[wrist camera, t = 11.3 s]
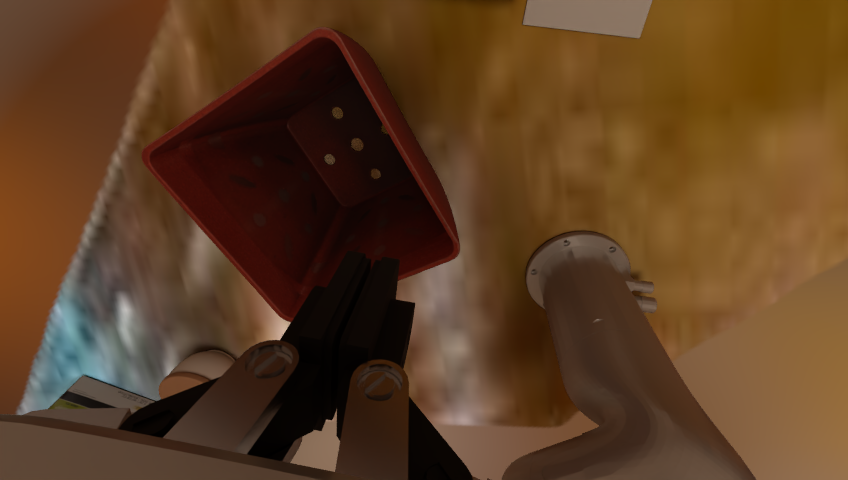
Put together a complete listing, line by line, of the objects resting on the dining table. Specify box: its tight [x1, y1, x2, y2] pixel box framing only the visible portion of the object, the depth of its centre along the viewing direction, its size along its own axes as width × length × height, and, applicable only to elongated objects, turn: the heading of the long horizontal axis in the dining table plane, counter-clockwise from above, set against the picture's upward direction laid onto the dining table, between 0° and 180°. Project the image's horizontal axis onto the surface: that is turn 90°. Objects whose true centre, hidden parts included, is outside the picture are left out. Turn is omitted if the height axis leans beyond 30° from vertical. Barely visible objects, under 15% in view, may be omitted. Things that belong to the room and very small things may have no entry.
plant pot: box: [142, 27, 460, 322], centre depth 38 cm, size 19×19×17 cm
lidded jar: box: [159, 350, 235, 399], centre depth 63 cm, size 11×11×9 cm
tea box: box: [48, 376, 155, 412], centre depth 70 cm, size 15×10×15 cm, turn 64°
